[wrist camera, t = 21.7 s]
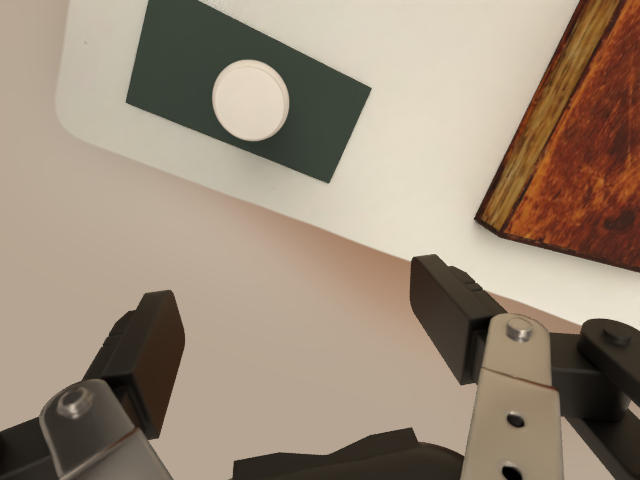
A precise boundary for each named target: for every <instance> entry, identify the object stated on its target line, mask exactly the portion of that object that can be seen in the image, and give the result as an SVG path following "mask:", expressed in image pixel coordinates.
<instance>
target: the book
mask: <svg viewBox="0 0 640 480" xmlns="http://www.w3.org/2000/svg"><path fill="white" fill-rule="evenodd" d="M474 219H475V220H476V221H477V222H478V223H479V224H480V225H482V226H483V227H485V228H486V229H488V230H489V231H491V232H492V233H494V234H495V235H497V236H498V237H500V238H504V239H508V240H512V241H516V242H520V243H524V244H528V245H532V246H536V247H540V248H544V249H548V250H552V251H556V252H560V253H564V254H568V255H572V256H576V257H580V258H584V259H588V260H592V261H596V262H600V263H604V264H607V265H611V266H615V267H619V268H623V269H627V270H631V271H635V272H639V273H640V0H580V2H579V4H578V6H577V8H576V10H575V12H574V14H573V16H572V18H571V21H570V23H569V25H568V27H567V29H566V31H565V33H564V35H563V37H562V39H561V41H560V43H559V45H558V47H557V49H556V51H555V53H554V55H553V58H552V60H551V62H550V64H549V66H548V68H547V70H546V72H545V74H544V76H543V78H542V80H541V82H540V84H539V86H538V88H537V90H536V93H535V95H534V97H533V99H532V101H531V103H530V105H529V107H528V109H527V111H526V113H525V115H524V117H523V119H522V121H521V123H520V125H519V127H518V130H517V132H516V134H515V136H514V138H513V140H512V142H511V144H510V146H509V148H508V150H507V152H506V154H505V156H504V158H503V160H502V162H501V164H500V167H499V169H498V171H497V173H496V175H495V177H494V179H493V181H492V183H491V185H490V187H489V189H488V191H487V193H486V195H485V197H484V199H483V201H482V204H481V206H480V208H479V210H478V212H477V214H476V217H475V218H474Z"/></svg>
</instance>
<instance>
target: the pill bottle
mask: <svg viewBox="0 0 640 480" xmlns="http://www.w3.org/2000/svg"><path fill="white" fill-rule="evenodd" d="M212 103H213V108H214V112H215V114H216V117H217V119H218V120H219V122H220V123H221V125H222V126H223V127H224V128H225V129H226V130H227V131H228V132H229V133H230V134H232V135H234V136H235V137H237V138H240V139H243V140H246V141H260V140H264V139H267V138H269V137H271V136H273V135H274V134H275V133H277V132H278V131H279V129H280V128H281V127H282V126H283V124H284V122H285V120H286V118H287V115H288V111H289V94H288V91H287V87H286V85H285V83H284V81H283V80H282V78H281V77H280V75H279V74H278V73H277V72H276V71H275V70H274V69H273V68H271V67H270V66H269V65H267V64H265V63H263V62H260V61H256V60H240V61H237V62H234V63H232V64H230V65H229V66H227V67H226V68H225V69H224V70H223V71H222V72H221V73H220V74H219V76H218V77H217V79H216V82H215V84H214V88H213V93H212Z"/></svg>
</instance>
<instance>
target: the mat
mask: <svg viewBox="0 0 640 480" xmlns="http://www.w3.org/2000/svg"><path fill="white" fill-rule="evenodd" d="M240 60H256V61H260V62H263V63H265V64H267V65H269V66H270V67H271V68H273V69H274V70H275V71H276V72H277V73H278V74H279V75H280V77H281V78H282V80H283V81H284V83H285V85H286V87H287V91H288V94H289V111H288V115H287V118H286V120H285V122H284V124H283V126H282V127H281V128H280V129H279V131H278V132H277V133H275V134H274V135H273V136H271V137H269V138H267V139H264V140H260V141H246V140H243V139H240V138H237V137H235V136H234V135H232V134H230V133H229V132H228V131H227V130H226V129H225V128H224V127H223V126H222V125H221V123H220V122H219V120H218V119H217V117H216V114H215V112H214V108H213V103H212V93H213V88H214V84H215V82H216V79H217V77H218V76H219V74H220V73H221V72H222V71H223V70H224V69H225V68H226V67H227V66H229V65H230V64H232V63H234V62H237V61H240ZM371 89H372V88H370V87H368V86H366V85H364V84H362V83H360V82H358V81H356V80H354V79H352V78H350V77H348V76H346V75H344V74H342V73H340V72H338V71H336V70H334V69H332V68H330V67H329V66H327V65H325V64H323V63H321V62H319V61H317V60H315V59H313V58H311V57H309V56H307V55H305V54H303V53H301V52H299V51H297V50H295V49H293V48H291V47H289V46H287V45H285V44H283V43H281V42H279V41H277V40H275V39H273V38H271V37H269V36H267V35H265V34H263V33H261V32H259V31H257V30H255V29H253V28H251V27H249V26H247V25H245V24H243V23H241V22H239V21H237V20H235V19H233V18H231V17H229V16H227V15H225V14H223V13H222V12H220V11H218V10H216V9H214V8H212V7H210V6H208V5H206V4H204V3H202V2H200V1H198V0H149V1H148V6H147V10H146V15H145V19H144V23H143V28H142V32H141V37H140V41H139V45H138V50H137V54H136V59H135V63H134V68H133V72H132V76H131V81H130V85H129V90H128V94H127V99H126V103H128V104H131V105H133V106H136V107H138V108H141V109H143V110H146V111H148V112H151V113H153V114H156V115H158V116H161V117H163V118H166V119H168V120H171V121H173V122H176V123H178V124H181V125H183V126H186V127H188V128H191V129H193V130H196V131H198V132H201V133H203V134H206V135H208V136H211V137H213V138H216V139H219V140H221V141H224V142H226V143H229V144H231V145H234V146H236V147H239V148H241V149H244V150H246V151H249V152H251V153H254V154H256V155H259V156H261V157H264V158H266V159H269V160H271V161H274V162H276V163H279V164H281V165H284V166H286V167H289V168H291V169H294V170H296V171H299V172H301V173H304V174H306V175H309V176H311V177H314V178H316V179H319V180H321V181H324V182H326V183H329V182H330V180H331V178H332V176H333V173H334V171H335V169H336V167H337V165H338V162H339V160H340V158H341V156H342V153H343V151H344V149H345V147H346V145H347V142H348V140H349V138H350V136H351V133H352V131H353V129H354V127H355V125H356V122H357V120H358V118H359V116H360V113H361V111H362V109H363V107H364V105H365V102H366V100H367V98H368V96H369V93H370V91H371Z"/></svg>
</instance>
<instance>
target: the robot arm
mask: <svg viewBox="0 0 640 480" xmlns="http://www.w3.org/2000/svg"><path fill="white" fill-rule="evenodd" d="M410 303H411V307H412V310H413V312H414V314H415V315H416V317H417V319H418V320H419V322H420V323H421V324H422V326H423V328H424V329H425V331H426V332H427V334H428V336H429V337H430V339H431V340H432V341H433V343H434V345H435V346H436V348H437V349H438V351H439V353H440V354H441V356H442V357H443V359H444V360H445V362H446V363H447V365H448V367H449V368H450V370H451V371H452V373H453V374H454V376H455V377H456V379H457V380H458V382H459V383H460V385H465V384H471V383H476V384H477V386H478V387H477V392H476V397H475V403H474V409H473V413H472V419H471V424H470V430H469V435H468V441H467V446H466V452H465V456H463V455H461V454H459V453H457V452H455V451H453V450H450V449H448V448H445V447H441V446H439V445H435V444H430V443H425V442H418V441H417V438H416V436H415V433H414V431H413V429H412V428H406V429H401V430H395V431H390V432H385V433H380V434H374V435H370V436H367V437H365V438H363V439H361V440H359V441H357V442H355V443H353V444H351V445H348V446H346V447H344V448H342V449H340V450H338V451H336V452H334V453H331V454H329V455H311V454H296V453H280V452H279V453H274V454H268V455H263V456H258V457H253V458H247V459H242V460H237V461H234V466H233V478H231V479H229V480H564V468H563V450H562V432H561V416H564V417H565V418H566V419H567V421H568V422H569V423H570V424H571V426H572V427H573V428H574V429H575V430H576V432H577V433H578V434H579V435H580V437H581V438H582V439H583V440H584V441H585V443H586V444H587V445H588V446H589V448H590V449H591V450H592V451H593V453H594V454H595V455H596V456H597V457H598V458H599V460H600V461H601V462H602V464H603V465H604V466H605V467H606V469H607V470H608V471H609V472H610V473H611V475H612V476H613V477H614V478H615V480H640V420H639V419H638V418H637V417H636V416H635V415H634V414H633V413H632V412H631V411H630V410H629V409H628V407H629V404H630V402H631V400H632V401H633V402H634V403H635V404H636V405H637V406H639V407H640V331H639V330H637V329H635V328H633V327H631V326H629V325H627V324H624V323H621V322H618V321H614V320H610V319H590V320H587V321H586V322H584V323H583V325H582V328H581V332H580V335H578V334H563V333H562V334H561V333H550V332H548V330H547V329H546V328H545V327H544V326H543V325H542V324H540V323H539V322H538V321H536V320H534V319H532V318H530V317H527V316H524V315H520V314H515V313H508V312H507V311H506V310H505V309H504V308H503V307H501V306H500V305H499V304H498V303H497V302H496V301H495V300H494V299H493V298H492V297H491V296H490V295H489V294H488V293H487V292H486V291H485V290H483V288H482V287H481V286H480V285H479V284H477V283H475V281H474V280H473V279H472V278H471V277H470V276H469V275H468V274H467V273H466V272H464V271H462V270H460V269H458V268H456V267H454V266H447V265H446V264H445V263H444V262H443V261H442V260H441V259H440V258H439V257H438V256H437V255H436V254H431V255H424V256H417V257H413V258H412V261H411V277H410ZM184 346H185V333H184V328H183V325H182V321H181V317H180V314H179V310H178V307H177V304H176V300H175V297H174V294H173V292H172V291H171V290H165V291H157V292H151V293H145V294H144V296H143V298H142V299H141V301H140V303H139V305H138V307H137V309H136V310H133V311H128V312H127V313H126V314H125V315H124V316H123V317H121V318H120V319H119V320H118V321H117V322H116V323H115V325H114V327H113V328H112V330H111V331H110V333H109V337H107V338H106V340H105V342H104V343H103V347H101V348H100V350H99V352H98V353H97V355H96V357H95V359H94V360H93V362H92V364H91V365H90V367H89V369H88V370H87V372H86V374H85V376H84V377H83V379H82V381H80V382H77V383H75V384H72V385H70V386H68V387H66V388H65V389H63V390H62V391H60V392H59V393H57V394H56V395H55V396H54V397H52V398H51V399H50V400H49V401H48V402H47V403H46V405H45V406H44V407H43V409H42V411H41V413H40V415H39V417H37V418H34V419H32V420H29V421H27V422H24V423H21V424H19V425H16V426H14V427H11V428H8V429H6V430H3V431H1V432H0V480H173V478H172V477H171V475H170V474H169V472H168V470H167V469H166V467H165V466H164V464H163V463H162V461H161V460H160V458H159V457H158V455H157V453H156V452H155V451H154V449H153V447H152V446H151V444H150V443H149V441H148V440H152V439H157V438H159V435H160V432H161V429H162V425H163V421H164V417H165V414H166V411H167V407H168V404H169V400H170V396H171V393H172V389H173V386H174V382H175V379H176V375H177V372H178V368H179V365H180V361H181V357H182V354H183V351H184Z"/></svg>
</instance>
